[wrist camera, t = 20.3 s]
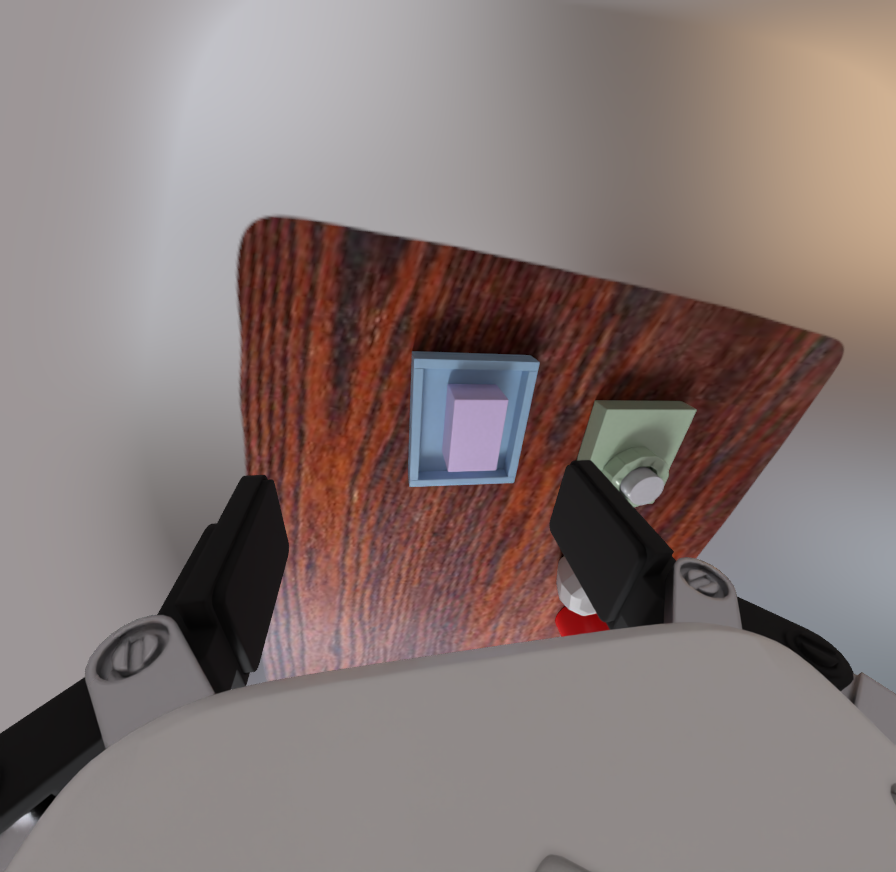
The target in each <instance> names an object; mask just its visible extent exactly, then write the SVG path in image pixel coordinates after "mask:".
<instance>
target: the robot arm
mask: <svg viewBox="0 0 896 872" xmlns="http://www.w3.org/2000/svg"><path fill="white" fill-rule="evenodd" d="M550 531H551V533H552V535H553V537H554V538H555V540H556V542H557V544H558V546H559V547H560V549H561V551H562V553H563V555H564V556H565V558H566V560H567V562H568V563H569V565H570V567H571V569H572V571H573V572H574V574H575V576H576V578H577V579H578V581H579V583H580V585H581V587H582V588H583V590H584V592H585V594H586V595H587V597H588V599H589V601H590V603H591V604H592V606H593V608H594V610H595V611H596V613H597V615H598V617H599V618H600V620H601V621H603V622H606V624H607V625H608V627H609V629H610V630H606V631H599V632H592V633H585V634H578V635H570V636H563V637H556V638H549V639H542V640H535V641H528V642H521V643H514V644H507V645H500V646H493V647H486V648H479V649H473V650H466V651H459V652H452V653H445V654H438V655H432V656H425V657H418V658H412V659H405V660H399V661H392V662H385V663H379V664H372V665H365V666H359V667H352V668H346V669H339V670H333V671H327V672H321V673H315V674H309V675H303V676H297V677H291V678H285V679H279V680H273V681H268V682H264V683H259V684H255V685H250V686H246V684H247V681H248V677H249V673H250V672H255V671H256V670H257V668H258V665H259V663H260V659H261V655H262V651H263V648H264V644H265V640H266V636H267V633H268V629H269V625H270V621H271V618H272V614H273V610H274V606H275V603H276V599H277V595H278V592H279V588H280V584H281V580H282V577H283V573H284V569H285V565H286V562H287V558H288V553H289V543H288V538H287V534H286V530H285V526H284V522H283V517H282V513H281V509H280V505H279V500H278V496H277V492H276V488H275V483H274V481H273V480H268V479H267V477H266V476H265V475H253V476H243V477H242V478H241V480H240V481H239V483H238V485H237V487H236V489H235V491H234V493H233V494H232V497H231V498H230V500H229V502H228V504H227V506H226V508H225V509H224V511H223V513H222V515H221V517H220V519H219V521H218V523H217V524H210V525H209V526H208V527H207V528H206V529H205V531H204V532H203V534H202V536H201V538H200V540H199V541H198V543H197V545H196V547H195V548H194V550H193V552H192V554H191V556H190V557H189V559H188V561H187V563H186V565H185V566H184V568H183V570H182V572H181V573H180V575H179V577H178V579H177V580H176V582H175V584H174V586H173V588H172V590H171V591H170V593H169V595H168V597H167V598H166V600H165V602H164V604H163V606H162V608H161V609H160V611H159V613H158V614H157V615H151V616H147V617H143V618H139V619H137V620H135V621H132V622H130V623H128V624H126V625H124V626H123V627H121V628H120V629H118V630H117V631H115V632H114V633H112V634H111V635H110V636H109V637H107V638H106V639H105V640H104V641H103V642H102V643H101V644H100V645H99V646H98V648H97V649H96V650H95V651H94V653H93V654H92V655H91V657H90V659H89V661H88V664H87V666H86V669H85V678H83V679H81V680H80V681H78V682H77V683H75V684H74V685H73V686H71V687H69V688H68V689H66V690H65V691H63V692H62V693H60V694H59V695H57V696H56V697H54V698H53V699H51V700H50V701H48V702H47V703H45V704H44V705H43V706H41V707H39V708H38V709H36V710H35V711H33V712H32V713H30V714H29V715H27V716H26V717H24V718H23V719H21V720H20V721H18V722H17V723H15V724H14V725H12V726H11V727H9V728H8V729H6V730H5V731H3V732H2V733H0V872H896V694H895V693H894V692H892V691H890V690H889V689H887V688H886V687H884V686H883V685H881V684H880V683H878V682H876V681H875V680H873V679H872V678H870V677H869V676H867V675H865V674H864V673H862V672H861V673H860V674H859V675H855V674H854V673H853V671H852V668H851V667H850V664H849V663H848V661H847V660H846V659H845V658H844V656H843V655H842V654H841V653H840V652H839V651H838V650H837V649H836V648H835V647H834V646H833V645H832V644H830V643H829V642H828V641H826V640H825V639H823V638H822V637H821V636H819V635H817V634H815V633H814V632H812V631H810V630H808V629H806V628H804V627H802V626H800V625H797V624H795V623H793V622H791V621H789V620H787V619H785V618H782V617H780V616H778V615H776V614H774V613H772V612H769V611H767V610H765V609H763V608H761V607H759V606H757V605H754V604H752V603H750V602H748V601H746V600H743V599H741V598H739V597H737V594H736V591H735V588H734V585H733V584H732V583H731V581H730V580H729V579H728V578H727V577H726V576H725V575H724V574H723V573H722V572H721V571H720V570H718V569H717V568H715V567H714V566H712V565H710V564H708V563H706V562H704V561H701V560H698V559H695V558H687V557H685V558H680V559H678V560H677V561H676V560H675V559H674V558H673V557H672V554H673V552H674V551H673V550H672V549H671V548H670V547H669V546H668V545H667V544H666V543H665V541H664V540H663V539H662V538H661V537H660V536H659V535H658V534H657V533H656V532H655V530H654V529H653V528H652V527H651V526H650V525H649V524H648V523H647V522H646V520H645V519H644V518H643V517H642V516H641V515H640V514H639V513H638V512H637V510H636V509H635V508H634V507H633V506H632V505H631V504H630V503H629V502H628V500H627V499H626V498H625V497H624V496H623V495H622V494H621V493H620V492H619V490H618V489H617V488H616V487H615V486H614V485H613V484H612V483H611V482H610V480H609V479H608V478H607V477H606V476H605V475H604V474H603V473H602V472H601V470H600V469H599V468H598V467H597V466H596V465H595V464H594V463H593V462H592V461H591V460H576V461H572V462H571V464H570V465H568V466H567V467H566V469H565V473H564V476H563V479H562V483H561V486H560V489H559V493H558V496H557V499H556V503H555V506H554V509H553V513H552V516H551V520H550ZM231 689H232V690H231Z"/></svg>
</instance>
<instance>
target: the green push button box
mask: <svg viewBox="0 0 896 872" xmlns="http://www.w3.org/2000/svg"><path fill="white" fill-rule="evenodd" d="M696 411H697V409H695V408H693V407H691V406H689V405H687V404H686V403H684V402H682V401H621V400H595V402H594V406H593V409H592V412H591V415H590V419H589V422H588V425H587V428H586V432H585V435H584V438H583V441H582V444H581V448H580V451H579V454H578V457H577V460H591V461H592V462H593V463H594V464H595V465H596V466H597V467H598V468H599V469H600V470H601V472H602V473H603V474H604V475H605V476H606V477H607V478H608V479H609V480H610V482H611V483H612V484H613V485H614V486H615V487H616V488H617V489H618V490H619V492H620V493H621V494H622V495H623V496H624V497H625V498H626V499H627V500H628V502H629V503H630V504H631V505H632V506H633V507H637V506H639V505H636V504H634V503H632V502H631V501H630V500H629V499H628V498H627V497H626V496H625V494H624V493H623V492H622V491H621V489H620V484H621V482H622V480H623V479H624V478H625V477H626V476H627V475H628V474H629V473H630V472H631V471H632V470H634V469H637V468H639V467H647V468H650V469H651V470H652V471H653V472H654V473H655V474H657V475H658V476H659V477H660V478H661V479H662V480H663V482H664V485H665V483H666V481H667V479H668V477H669V472H668V470H669V468H670V466H671V464H672V462H673V460H674V458H675V455H676V453H677V451H678V449H679V447H680V445H681V443H682V440H683V438H684V436H685V434H686V432H687V430H688V428H689V426H690V423H691V421H692V419H693V417H694V415H695V413H696ZM651 503H654V500H653V501H652V502H650V503H648V504H651Z"/></svg>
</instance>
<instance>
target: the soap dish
mask: <svg viewBox="0 0 896 872" xmlns="http://www.w3.org/2000/svg"><path fill="white" fill-rule="evenodd" d="M539 363H540V362H539V361H537V360H536V359H535V358H534V357H532V356H531V355H510V354H480V353H450V352H420V351H412V365H411V396H410V428H409V459H408V478H409V486H410V487H419V486H444V485H469V484H494V483H514V480H515V476H516V471H517V466H518V462H519V457H520V452H521V447H522V443H523V438H524V433H525V429H526V424H527V419H528V415H529V410H530V405H531V400H532V396H533V391H534V386H535V382H536V377H537V372H538V368H539ZM448 384H496V385H497V386H498V387H499V389H500V390H501V391H502V392H503V394H504V395H505V396H506V397H507V399H508V406H507V411H506V417H505V423H504V428H503V434H502V440H501V446H500V451H499V457H498V463H497V468H496V470H490V471H461V472H448V470H447V467H446V463H445V460H444V457H443V453H442V445H443V433H444V420H445V408H446V396H447V385H448Z"/></svg>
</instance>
